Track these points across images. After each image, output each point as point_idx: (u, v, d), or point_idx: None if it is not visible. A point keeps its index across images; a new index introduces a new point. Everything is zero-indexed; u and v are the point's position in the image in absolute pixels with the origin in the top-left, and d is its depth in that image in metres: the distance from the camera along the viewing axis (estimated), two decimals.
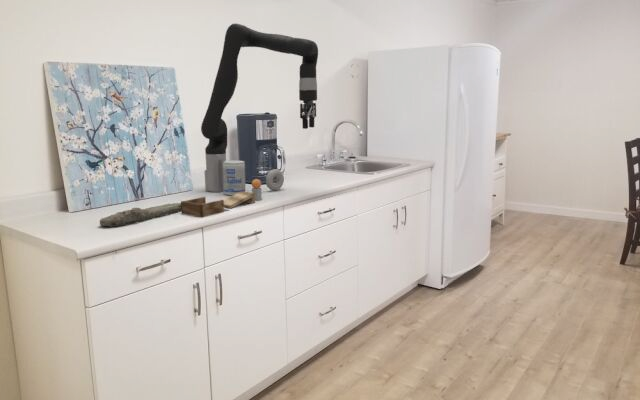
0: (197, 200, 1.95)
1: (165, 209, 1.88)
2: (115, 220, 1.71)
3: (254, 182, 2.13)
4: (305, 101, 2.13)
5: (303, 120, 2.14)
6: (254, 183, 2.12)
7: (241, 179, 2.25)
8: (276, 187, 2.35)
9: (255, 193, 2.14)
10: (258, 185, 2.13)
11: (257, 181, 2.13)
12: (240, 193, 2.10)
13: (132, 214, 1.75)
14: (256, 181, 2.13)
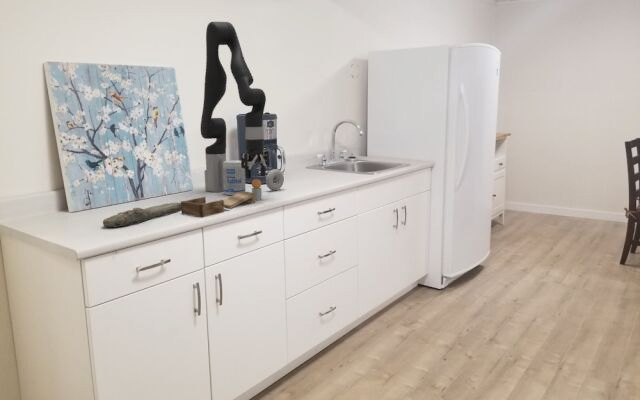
0: (197, 200, 1.95)
1: (165, 208, 1.88)
2: (119, 220, 1.70)
3: (254, 182, 2.13)
4: None
5: None
6: (254, 183, 2.12)
7: (241, 179, 2.25)
8: (276, 187, 2.35)
9: (255, 193, 2.14)
10: (258, 185, 2.13)
11: (257, 181, 2.13)
12: (240, 193, 2.10)
13: (135, 214, 1.75)
14: (256, 181, 2.13)
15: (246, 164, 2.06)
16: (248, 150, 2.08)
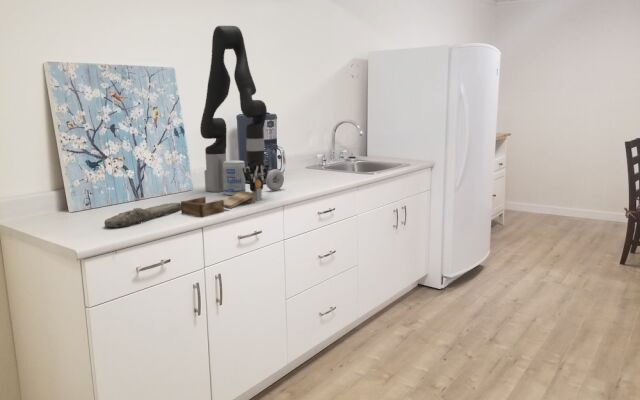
0: (197, 200, 1.95)
1: (165, 208, 1.88)
2: (121, 221, 1.70)
3: None
4: None
5: None
6: None
7: (241, 179, 2.25)
8: (276, 187, 2.35)
9: (255, 193, 2.14)
10: (258, 185, 2.13)
11: (257, 181, 2.13)
12: (240, 193, 2.10)
13: (137, 214, 1.75)
14: (256, 181, 2.13)
15: (250, 178, 2.09)
16: (249, 161, 2.10)
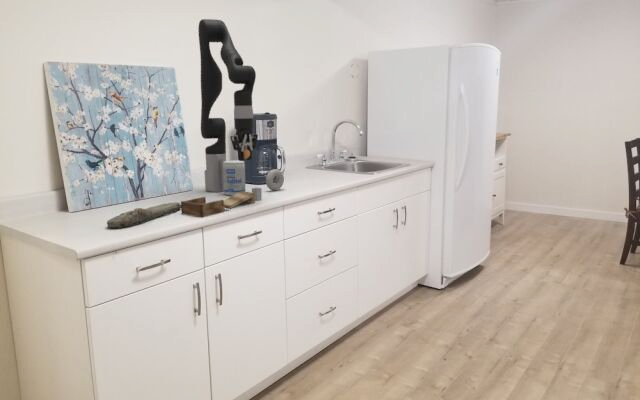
0: (197, 200, 1.95)
1: (166, 208, 1.89)
2: (124, 221, 1.69)
3: (243, 151, 2.05)
4: None
5: None
6: None
7: (241, 179, 2.25)
8: (276, 187, 2.35)
9: (255, 193, 2.14)
10: (247, 155, 2.05)
11: (246, 150, 2.05)
12: (240, 193, 2.10)
13: (139, 214, 1.75)
14: (245, 150, 2.05)
15: (238, 146, 2.01)
16: (237, 129, 2.02)
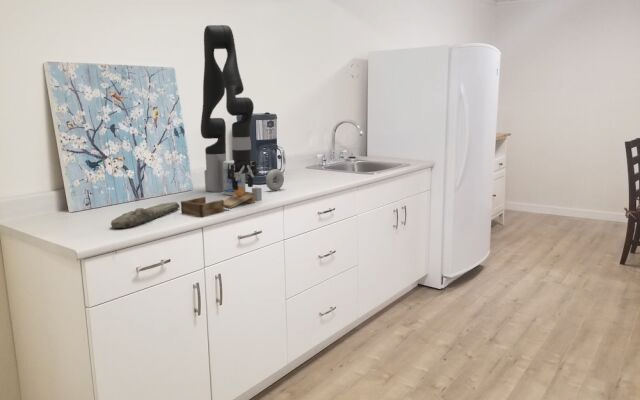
0: (197, 200, 1.95)
1: (166, 208, 1.89)
2: (129, 221, 1.69)
3: (237, 194, 2.05)
4: None
5: (252, 178, 2.11)
6: (238, 195, 2.05)
7: (241, 179, 2.25)
8: (276, 187, 2.35)
9: (255, 193, 2.14)
10: (242, 193, 2.06)
11: (239, 192, 2.05)
12: None
13: (142, 214, 1.75)
14: (238, 193, 2.05)
15: (232, 175, 2.01)
16: (235, 161, 2.03)
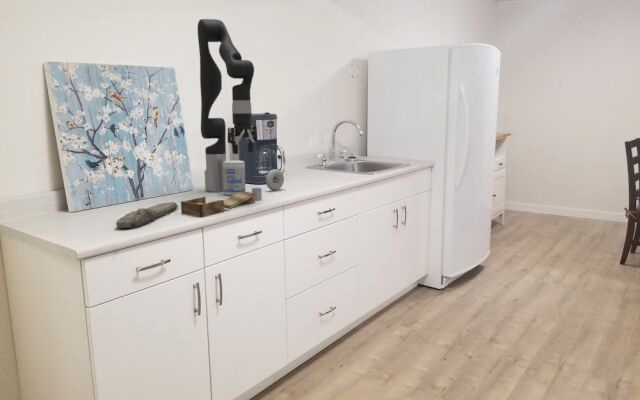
0: (197, 200, 1.95)
1: (166, 208, 1.89)
2: (135, 221, 1.69)
3: None
4: None
5: (252, 143, 2.09)
6: None
7: (241, 179, 2.25)
8: (276, 187, 2.35)
9: (255, 193, 2.14)
10: None
11: None
12: (240, 193, 2.10)
13: (147, 214, 1.75)
14: None
15: (233, 139, 1.99)
16: (235, 124, 2.01)
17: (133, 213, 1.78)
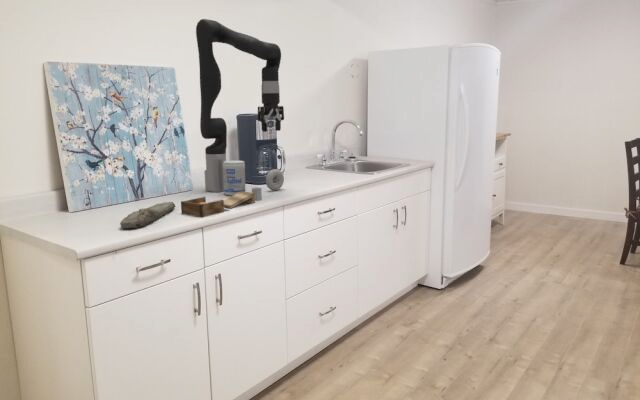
0: (197, 200, 1.95)
1: (166, 208, 1.90)
2: (140, 221, 1.69)
3: (202, 202, 1.91)
4: None
5: None
6: (202, 203, 1.91)
7: (241, 179, 2.25)
8: (276, 187, 2.35)
9: (255, 193, 2.14)
10: None
11: None
12: (240, 193, 2.10)
13: (150, 214, 1.75)
14: None
15: (262, 117, 2.12)
16: (264, 104, 2.14)
17: (135, 213, 1.77)
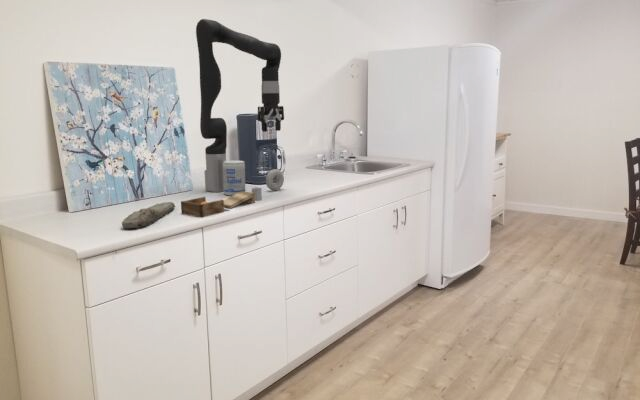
0: (197, 200, 1.95)
1: (166, 208, 1.90)
2: (142, 221, 1.69)
3: (206, 202, 1.93)
4: None
5: None
6: (206, 202, 1.92)
7: (241, 179, 2.25)
8: (276, 187, 2.35)
9: (255, 193, 2.14)
10: None
11: None
12: (240, 193, 2.10)
13: (152, 214, 1.75)
14: None
15: (262, 117, 2.12)
16: (264, 104, 2.14)
17: (136, 213, 1.77)
